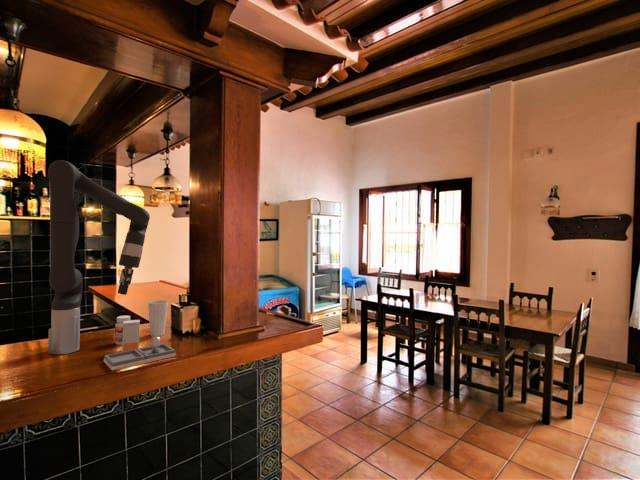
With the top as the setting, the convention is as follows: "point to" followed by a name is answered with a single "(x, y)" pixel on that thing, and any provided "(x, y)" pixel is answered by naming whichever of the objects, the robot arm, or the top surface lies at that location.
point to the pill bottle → (120, 329)
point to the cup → (157, 317)
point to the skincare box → (130, 335)
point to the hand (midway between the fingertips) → (121, 294)
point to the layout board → (139, 355)
